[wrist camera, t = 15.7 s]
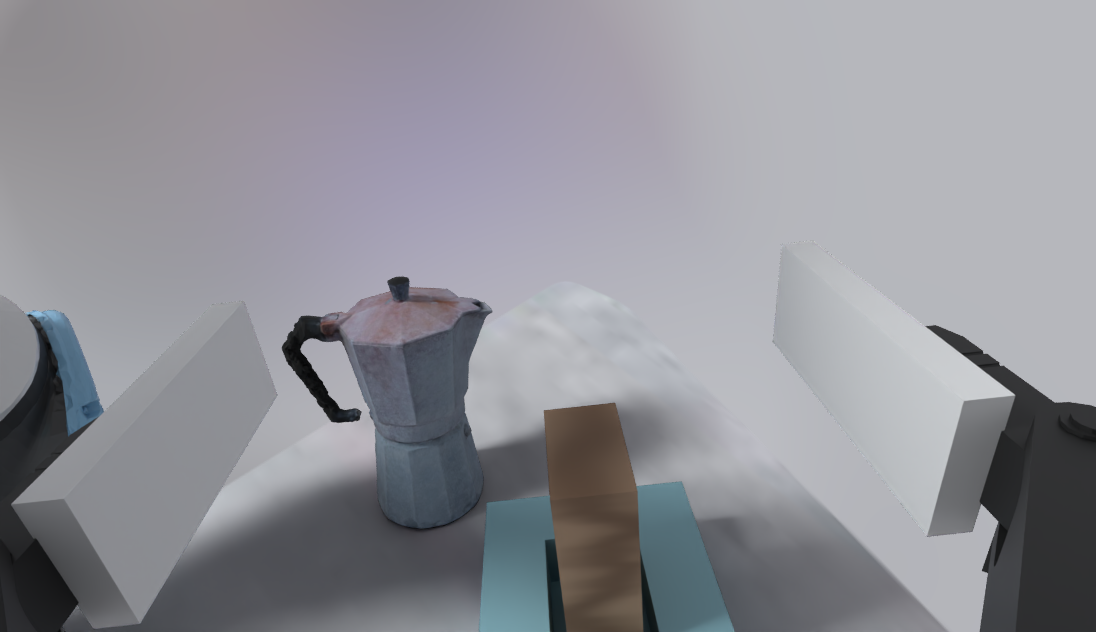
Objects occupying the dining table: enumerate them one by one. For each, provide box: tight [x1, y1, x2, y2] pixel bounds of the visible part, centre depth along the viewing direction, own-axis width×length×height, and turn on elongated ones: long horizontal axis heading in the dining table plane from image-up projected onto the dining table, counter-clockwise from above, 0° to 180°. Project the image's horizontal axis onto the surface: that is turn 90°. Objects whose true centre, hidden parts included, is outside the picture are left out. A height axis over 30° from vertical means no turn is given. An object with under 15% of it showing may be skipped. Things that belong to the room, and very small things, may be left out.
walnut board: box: [544, 403, 643, 632], centre depth 34 cm, size 4×7×15 cm, turn 3°
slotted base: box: [479, 481, 735, 632], centre depth 37 cm, size 14×17×5 cm
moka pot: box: [282, 277, 492, 528], centre depth 47 cm, size 10×15×20 cm, turn 105°
